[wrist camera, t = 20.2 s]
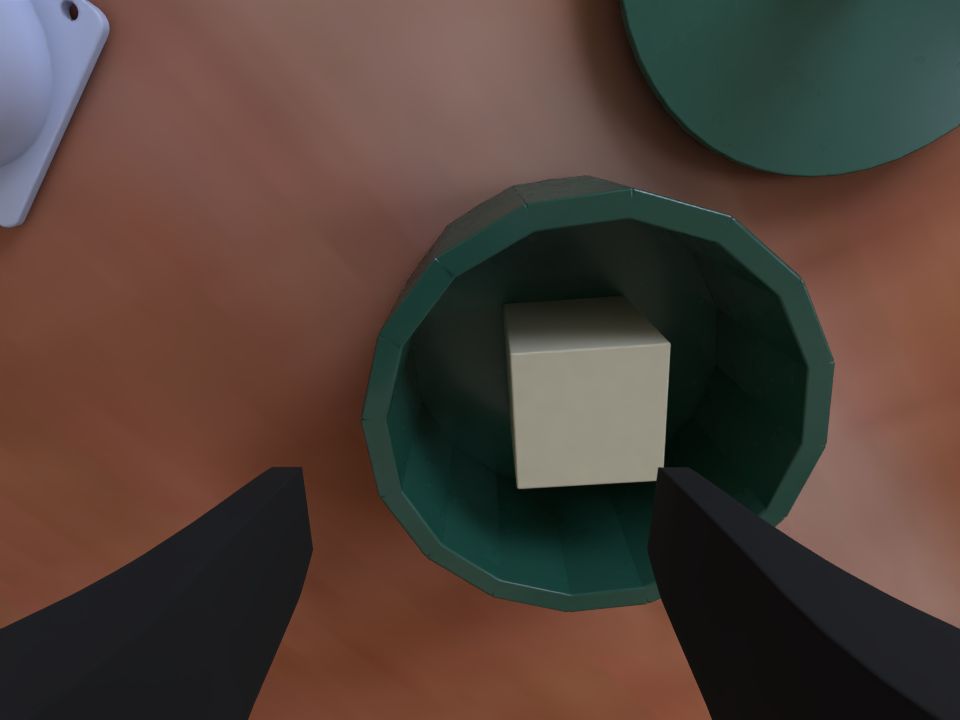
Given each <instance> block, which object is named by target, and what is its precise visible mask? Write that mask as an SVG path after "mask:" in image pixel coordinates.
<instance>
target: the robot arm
mask: <svg viewBox="0 0 960 720" xmlns="http://www.w3.org/2000/svg"><path fill="white" fill-rule="evenodd" d="M72 4H75V5H76V6H77V8H78V11H79V13H78V17H77V19H76V20H73V19H72V18H71V15H70V7H71V6H72ZM109 30H110V28H109V22H108V20H107V18H106V16H105V15H104V13H103V12H102V11H101V10H100V9H98V8H97V7H96V6H94V5H93V4H92V3H90V2H89V1H88V0H0V226H2V227H9V228H10V227H16V226H19V225H22V223H23V222H24V221H25V219H26V217H27V215H28V212H29V210H30V208H31V206H32V203H33V201H34V199H35V197H36V195H37V192H38V190H39V188H40V186H41V184H42V181H43V179H44V177H45V175H46V172H47V170H48V168H49V166H50V164H51V161H52V159H53V157H54V155H55V153H56V150H57V148H58V146H59V144H60V142H61V139H62V137H63V135H64V133H65V130H66V128H67V126H68V124H69V122H70V119H71V117H72V115H73V113H74V111H75V108H76V106H77V104H78V102H79V100H80V97H81V95H82V93H83V91H84V88H85V86H86V84H87V82H88V80H89V77H90V75H91V73H92V71H93V69H94V66H95V64H96V62H97V60H98V57H99V55H100V53H101V51H102V49H103V46H104V44H105V42H106V40H107V38H108V35H109ZM312 551H313V546H312V539H311V531H310V524H309V516H308V509H307V502H306V494H305V487H304V479H303V472H302V467H272V468H270V469H268V470H267V471H265V472H264V473H262V474H261V475H259V476H258V477H256V478H255V479H253V480H252V481H250V482H249V483H248V484H246V485H245V486H243V487H242V488H241V489H239V490H238V491H236V492H235V493H234V494H232V495H231V496H230V497H228V498H227V499H225V500H224V501H223V502H221V503H220V504H218V505H217V506H215V507H214V508H213V509H211V510H210V511H208V512H207V513H206V514H204V515H203V516H201V517H200V518H198V519H197V520H196V521H194V522H193V523H191V524H190V525H188V526H187V527H185V528H184V529H182V530H181V531H179V532H177V533H176V534H174V535H173V536H171V537H170V538H168V539H167V540H165V541H164V542H162V543H161V544H159V545H157V546H156V547H154V548H153V549H151V550H150V551H148V552H147V553H145V554H144V555H142V556H140V557H139V558H137V559H135V560H134V561H132V562H130V563H129V564H127V565H125V566H124V567H122V568H120V569H118V570H117V571H115V572H113V573H111V574H110V575H108V576H106V577H104V578H102V579H100V580H99V581H97V582H95V583H93V584H91V585H89V586H88V587H86V588H84V589H82V590H80V591H78V592H76V593H74V594H73V595H71V596H69V597H67V598H65V599H62V600H60V601H58V602H56V603H54V604H52V605H50V606H48V607H46V608H44V609H42V610H39V611H37V612H35V613H33V614H31V615H29V616H27V617H25V618H23V619H21V620H19V621H17V622H14V623H12V624H10V625H8V626H6V627H4V628H2V629H0V720H248V718H249V716H250V713H251V710H252V708H253V705H254V703H255V701H256V698H257V696H258V694H259V691H260V689H261V687H262V684H263V682H264V680H265V677H266V675H267V673H268V670H269V668H270V666H271V663H272V661H273V659H274V656H275V654H276V652H277V650H278V647H279V645H280V643H281V640H282V638H283V636H284V633H285V631H286V628H287V626H288V624H289V621H290V619H291V617H292V614H293V612H294V610H295V607H296V605H297V602H298V600H299V597H300V594H301V591H302V588H303V584H304V581H305V577H306V574H307V570H308V566H309V563H310V559H311V555H312ZM647 551H648V555H649V559H650V563H651V566H652V570H653V574H654V577H655V581H656V584H657V588H658V591H659V594H660V597H661V600H662V602H663V605H664V607H665V609H666V612H667V614H668V617H669V619H670V621H671V624H672V626H673V628H674V631H675V633H676V636H677V638H678V640H679V643H680V645H681V647H682V649H683V652H684V654H685V656H686V659H687V661H688V663H689V666H690V668H691V670H692V673H693V675H694V677H695V680H696V682H697V684H698V687H699V689H700V691H701V694H702V696H703V698H704V701H705V703H706V705H707V708H708V710H709V713H710V716H711V718H712V720H960V629H959V628H957V627H955V626H953V625H950V624H948V623H946V622H944V621H942V620H940V619H938V618H935V617H933V616H931V615H929V614H927V613H925V612H922V611H920V610H918V609H916V608H914V607H912V606H910V605H908V604H906V603H904V602H902V601H900V600H898V599H896V598H894V597H892V596H890V595H888V594H886V593H884V592H882V591H880V590H879V589H877V588H875V587H873V586H871V585H869V584H868V583H866V582H864V581H862V580H860V579H858V578H857V577H855V576H853V575H851V574H849V573H847V572H846V571H844V570H842V569H840V568H839V567H837V566H835V565H833V564H832V563H830V562H828V561H827V560H825V559H823V558H822V557H820V556H819V555H817V554H815V553H814V552H812V551H811V550H809V549H807V548H806V547H804V546H803V545H801V544H799V543H798V542H796V541H795V540H793V539H792V538H790V537H789V536H787V535H786V534H784V533H783V532H781V531H780V530H778V529H776V528H775V527H774V526H772V525H771V524H769V523H768V522H766V521H765V520H763V519H762V518H760V517H759V516H758V515H756V514H755V513H753V512H752V511H750V510H749V509H748V508H746V507H745V506H743V505H742V504H741V503H739V502H738V501H736V500H735V499H734V498H732V497H731V496H729V495H728V494H727V493H725V492H724V491H722V490H721V489H720V488H718V487H717V486H716V485H714V484H713V483H711V482H710V481H708V480H707V479H706V478H704V477H703V476H701V475H700V474H698V473H697V472H695V471H694V470H692V469H690V468H689V467H658V472H657V479H656V487H655V494H654V502H653V509H652V516H651V524H650V531H649V539H648V546H647Z"/></svg>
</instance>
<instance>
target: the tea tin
mask: <svg viewBox="0 0 960 720" xmlns="http://www.w3.org/2000/svg"><path fill="white" fill-rule="evenodd" d="M612 296H625V297H626V298H627V299H628V300H629V301H630V302H631V303H632V304H633V305H634V306H635V307H636V308H637V309H638V310H639V311H640V312H641V313H642V314H643V316H644V317H645V318H646V319H647V320H648V321H649V322H650V323H651V324H652V325H653V326H654V327H655V328H656V329H657V330H658V331H659V332H660V333H661V334H662V335H663V336H664V337H665V338H666V339H667V341H668V342H669V343H670V344H671V347H670V364H669V382H668V399H667V417H666V434H665V452H664V467H689V468H690V469H692V470H694V471H695V472H697V473H698V474H700V475H701V476H703V477H704V478H706V479H707V480H708V481H710V482H711V483H713V484H714V485H716V486H717V487H718V488H720V489H721V490H722V491H724V492H725V493H727V494H728V495H729V496H731V497H732V498H734V499H735V500H736V501H738V502H739V503H741V504H742V505H743V506H745V507H746V508H748V509H749V510H750V511H752V512H753V513H755V514H756V515H758V516H759V517H760V518H762V519H763V520H765V521H766V522H768V523H769V524H771V525H772V526H774V527H775V526H777V525H778V524H779V523H780V522H781V521H782V520H783V519H784V517H787V515H788V513H789V512H790V510H791V508H792V506H793V504H794V503H795V501H796V499H797V497H798V495H799V494H800V492H801V490H802V488H803V486H804V485H805V483H806V481H807V479H808V477H809V476H810V474H811V472H812V470H813V468H814V467H815V465H816V463H817V461H818V459H819V458H820V456H821V454H822V452H823V450H824V449H825V445H826V443H827V433H828V423H829V414H830V404H831V394H832V384H833V374H834V361H833V360H834V359H833V356H832V354H831V351H830V349H829V346H828V343H827V341H826V338H825V335H824V333H823V330H822V327H821V325H820V322H819V320H818V317H817V314H816V312H815V309H814V306H813V304H812V301H811V299H810V296H809V293H808V291H807V288H806V285H805V283H804V281H803V280H802V279H801V277H800V276H799V275H798V274H797V273H796V272H795V271H794V270H793V269H791V268H790V267H789V266H788V265H787V264H786V263H785V262H784V261H782V260H781V259H780V258H779V257H778V256H777V255H776V254H775V253H773V252H772V251H771V250H770V249H769V248H768V247H767V246H766V245H764V244H763V243H762V242H761V241H760V240H759V239H758V238H757V237H755V236H754V235H753V234H752V233H751V232H750V231H749V230H748V229H746V228H745V227H744V226H743V225H742V224H741V223H740V222H739V221H737V220H736V219H735V218H733V217H731V216H730V215H728V214H724V213H721V212H717V211H714V210H710V209H707V208H703V207H699V206H696V205H692V204H689V203H685V202H682V201H678V200H675V199H671V198H667V197H664V196H660V195H657V194H653V193H650V192H646V191H643V190H639V189H636V188H632V187H628V186H625V185H621V184H617V183H614V182H610V181H607V180H603V179H599V178H596V177H592V176H586V175H585V176H578V177H571V178H564V179H553V180H545V181H540V182H536V183H529V184H522V185H515V186H513V187H509V188H508V189H506V190H505V191H503V192H501V193H500V194H498V195H496V196H495V197H493V198H491V199H489V200H487V201H485V202H483V203H481V204H479V205H478V206H477V207H475V208H474V209H472V210H471V211H469V212H468V213H466V214H465V215H463V216H461V217H460V218H458V219H456V220H455V221H453V222H452V223H450V224H449V225H448V226H447V227H446V228H445V229H444V231H443V232H442V234H441V235H440V236H439V238H438V239H437V241H436V242H435V243H434V245H433V246H432V247H431V249H430V250H429V251H428V252H427V254H426V256H425V257H424V258H423V260H422V261H421V263H420V264H419V265H418V267H417V268H416V270H415V271H414V272H413V274H412V275H411V276H410V278H409V279H408V281H407V282H406V284H405V286H404V288H403V290H402V292H401V294H400V295H399V297H398V299H397V301H396V303H395V305H394V306H393V308H392V310H391V312H390V314H389V316H388V318H387V319H386V321H385V323H384V325H383V327H382V329H381V331H380V332H379V336H378V337H377V342H376V347H375V352H374V357H373V362H372V366H371V371H370V376H369V381H368V386H367V391H366V395H365V400H364V405H363V410H362V415H361V417H362V419H361V424H362V428H363V432H364V436H365V440H366V445H367V449H368V453H369V457H370V461H371V465H372V470H373V474H374V478H375V482H376V486H377V490H378V495H379V496H380V497H381V499H382V501H383V502H384V503H385V505H386V506H387V507H388V508H389V510H390V511H391V512H392V514H393V515H394V516H395V518H396V519H397V520H398V521H399V523H400V524H401V525H402V527H403V528H404V529H405V531H406V532H407V533H408V534H409V536H410V537H411V538H412V540H413V541H414V542H415V544H416V545H417V546H418V547H419V549H420V550H421V551H422V553H423V554H424V555H425V556H427V558H428V559H430V560H431V561H433V562H435V563H437V564H438V565H440V566H442V567H443V568H445V569H447V570H448V571H450V572H452V573H453V574H455V575H457V576H458V577H460V578H462V579H463V580H465V581H467V582H468V583H470V584H472V585H473V586H475V587H477V588H478V589H480V590H482V591H484V592H485V593H487V594H489V595H492V597H495V598H500V599H505V600H510V601H515V602H520V603H525V604H529V605H534V606H539V607H544V608H549V609H554V610H559V611H564V612H568V611H569V612H575V611H585V610H594V609H604V608H614V607H623V606H633V605H643V604H647V602H648V603H651V602H653V601H656V600H658V599H660V598H661V597H660V594H659V591H658V588H657V584H656V581H655V577H654V574H653V570H652V566H651V563H650V559H649V555H648V551H647V546H648V539H649V531H650V524H651V516H652V509H653V502H654V494H655V487H656V481H645V482H628V483H611V484H594V485H577V486H560V487H543V488H526V489H518V488H517V485H516V475H515V466H514V456H513V447H512V437H511V428H510V418H509V406H508V389H507V371H506V354H505V336H504V319H503V304H508V303H523V302H538V301H553V300H568V299H582V298H597V297H612Z"/></svg>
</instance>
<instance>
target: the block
mask: <svg viewBox="0 0 960 720" xmlns="http://www.w3.org/2000/svg"><path fill="white" fill-rule="evenodd" d="M503 319H504V336H505V354H506V371H507V389H508V406H509V418H510V428H511V437H512V447H513V456H514V466H515V475H516V485H517V488H518V489H526V488H543V487H560V486H577V485H594V484H611V483H628V482H645V481H656V479H657V472H658V467H664V452H665V434H666V417H667V399H668V382H669V364H670V347H671V344H670V343H669V342H668V341H667V339H666V338H665V337H664V336H663V335H662V334H661V333H660V332H659V331H658V330H657V329H656V328H655V327H654V326H653V325H652V324H651V323H650V322H649V321H648V320H647V319H646V318H645V317H644V316H643V314H642V313H641V312H640V311H639V310H638V309H637V308H636V307H635V306H634V305H633V304H632V303H631V302H630V301H629V300H628V299H627V298H626V297H625V296H612V297H597V298H582V299H568V300H553V301H538V302H523V303H508V304H503Z"/></svg>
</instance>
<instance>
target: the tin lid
mask: <svg viewBox="0 0 960 720" xmlns="http://www.w3.org/2000/svg"><path fill="white" fill-rule="evenodd" d="M618 1H619V5H620V10H621V15H622V19H623V24H624V28H625V32H626V35H627V38H628V41H629V43H630V46H631V49H632V52H633V55H634V58H635V60H636V62H637V64H638V66H639V68H640V70H641V72H642V74H643V76H644V78H645V80H646V82H647V84H648V86H649V88H650V89H651V91H652V92H653V94H654V95H655V96H656V98H657V99H658V101H659V102H660V104H661V105H662V106H663V108H664V109H665V111H666V112H667V113H668V114H669V115H670V116H671V117H672V118H673V119H674V120H675V121H676V122H677V123H678V125H679V126H680V127H681V128H682V129H683V130H684V131H685V132H687V133H688V134H689V135H690V136H692V137H693V138H694V139H695V140H697V141H698V142H699V143H701V144H702V145H703V146H704V147H706V148H708V149H709V150H711V151H713V152H715V153H716V154H718V155H720V156H722V157H724V158H725V159H727V160H729V161H732V162H735V163H737V164H740V165H743V166H745V167H748V168H751V169H754V170H758V171H763V172H768V173H773V174H777V175H787V176H803V177H820V176H833V175H842V174H847V173H852V172H857V171H862V170H867V169H870V168H873V167H876V166H879V165H882V164H885V163H888V162H891V161H894V160H897V159H899V158H901V157H904V156H906V155H908V154H910V153H912V152H914V151H916V150H918V149H921V148H923V147H925V146H927V145H928V144H930V143H932V142H933V141H935V140H937V139H938V138H940V137H942V136H943V135H945V134H947V133H948V132H950V131H951V130H953V129H955V128H956V127H957V126H959V125H960V0H618Z"/></svg>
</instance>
